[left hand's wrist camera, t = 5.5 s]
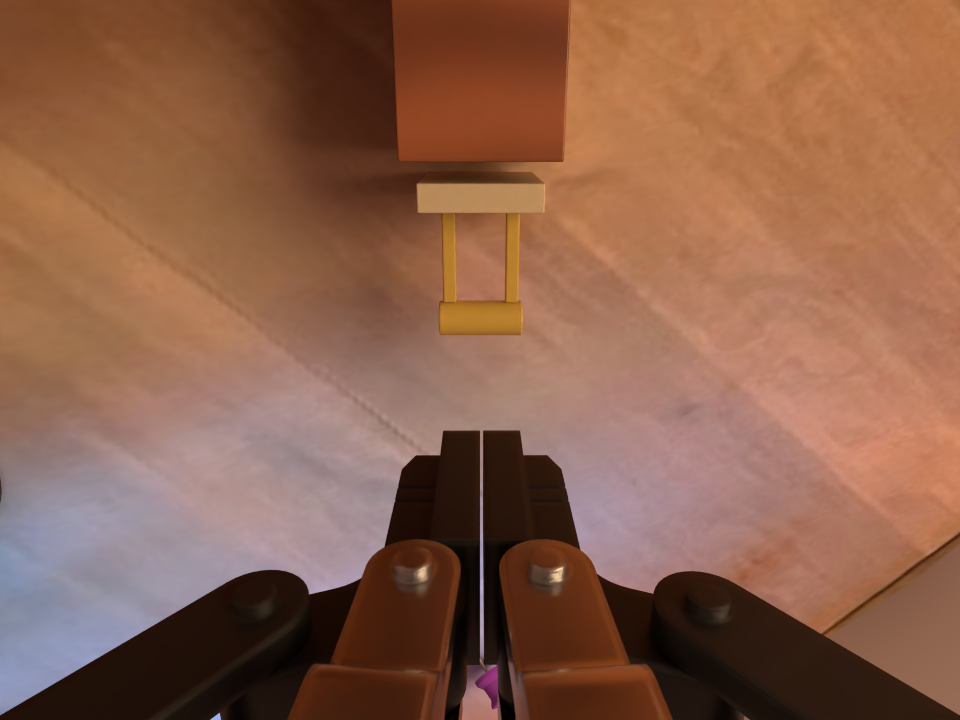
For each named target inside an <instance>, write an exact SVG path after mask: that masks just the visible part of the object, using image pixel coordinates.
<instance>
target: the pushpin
mask: <svg viewBox="0 0 960 720" xmlns="http://www.w3.org/2000/svg"><path fill="white" fill-rule="evenodd" d="M480 663H481V665H482V667H483V669H484V670H485V672H486V673H485V674H484V675H482V676H481V677H480V678H479V679H478V680H477V681H476V682H475V684H476V686H477V687H478V688H481V689H484V690H485V692H486V693H487V695H488V696H489V698H490V699H491V704H492V709H496V708H497V707H498V675H497V666H496V667H494V668H492V669H491V670H489V671H487V669H486V667H485V666H484V664H483V662H482V661H481V659H480Z"/></svg>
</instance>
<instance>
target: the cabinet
mask: <svg viewBox="0 0 960 720" xmlns="http://www.w3.org/2000/svg"><path fill="white" fill-rule="evenodd" d="M570 11H571V0H391V12H392V35H393V59H394V82H395V105H396V128H397V151H398V161H399V162H563V161H564V145H565V123H566V100H567V78H568V56H569V33H570Z"/></svg>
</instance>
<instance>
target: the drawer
mask: <svg viewBox="0 0 960 720" xmlns="http://www.w3.org/2000/svg"><path fill="white" fill-rule="evenodd" d="M416 190H417V212H418V213H442V256H443V301H440V303H439V332H440V335H521V334H522V321H523V312H522V302H521V301H518V277H519V231H520V213H544V208H545V184H544V183H543V182H542V181H541V180H540V179H539V178H538V177H537V176H536V175H535V174H534V173H533V172H429V173H428V174H427V175H425V176H424V177H423V178H422V179H421V180H420V181H419V182H418V183H417V184H416ZM455 213H506V253H505V301H456V299H457V295H456V219H455Z"/></svg>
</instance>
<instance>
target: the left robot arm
mask: <svg viewBox="0 0 960 720" xmlns="http://www.w3.org/2000/svg"><path fill="white" fill-rule="evenodd" d="M1 494H2V491H1V480H0V501H1ZM483 579H484V665H497V675H498V720H744V716H746V717H747V718H748V719H750V720H960V715H958V714H956V713H955V712H953V711H951V710H950V709H948V708H946V707H944V706H943V705H941V704H939V703H938V702H936V701H934V700H933V699H931V698H929V697H927V696H926V695H924V694H922V693H921V692H919V691H917V690H916V689H914V688H912V687H910V686H909V685H907V684H905V683H904V682H902V681H900V680H898V679H897V678H895V677H893V676H892V675H890V674H888V673H887V672H885V671H883V670H881V669H880V668H878V667H876V666H875V665H873V664H871V663H870V662H868V661H866V660H864V659H863V658H861V657H859V656H858V655H856V654H854V653H852V652H851V651H849V650H847V649H846V648H844V647H842V646H841V645H839V644H837V643H835V642H834V641H832V640H830V639H829V638H827V637H825V636H824V635H822V634H820V633H818V632H817V631H815V630H813V629H812V628H810V627H808V626H806V625H805V624H803V623H801V622H800V621H798V620H796V619H795V618H793V617H791V616H789V615H788V614H786V613H784V612H783V611H781V610H779V609H777V608H776V607H774V606H772V605H771V604H769V603H767V602H766V601H764V600H762V599H760V598H759V597H757V596H755V595H754V594H752V593H750V592H749V591H747V590H745V589H743V588H742V587H740V586H738V585H737V584H735V583H733V582H731V581H729V580H727V579H725V578H722V577H720V576H716V575H713V574H709V573H704V572H695V571H687V572H679V573H674V574H671V575H669V576H667V577H665V578H663V579H662V580H661V581H660V582H659V583H658V584H657V586H656V588H655V590H654V594H652V593H647V592H643V591H639V590H634V589H630V588H626V587H623V586H620V585H617V584H614V583H612V582H610V581H608V580H606V579H604V578H602V577H601V576H599V575H598V574H597V573H596V570H595V568H594V565H593V563H592V561H591V560H590V559H589V557H588V556H587V555H586V554H585V553H583V552H582V551H581V550H580V546H579V542H578V538H577V534H576V529H575V525H574V521H573V517H572V512H571V508H570V504H569V502H568V495H567V491H566V488H565V483H564V478H563V474H562V470H561V468H560V467H559V466H558V465H557V464H556V463H555V462H553V461H552V460H551V459H550V458H549V457H548V456H547V455H523V450H522V443H521V435H520V431H483ZM467 665H480V431H443V437H442V445H441V454H440V455H416V456H415V457H414V458H413V459H412V460H411V461H410V462H409V463H408V464H407V465H406V466H405V467H404V468H403V469H402V472H401V476H400V480H399V485H398V489H397V494H396V498H395V503H394V507H393V512H392V516H391V520H390V525H389V529H388V534H387V538H386V543H385V547H384V548H382V549H381V550H379V551H378V552H377V553H375V554H374V555H373V556H372V557H371V559H370V560H369V561H368V563H367V565H366V568H365V570H364V573H363V576H362V578H361V579H359V580H357V581H355V582H353V583H351V584H348V585H346V586H342V587H339V588H335V589H331V590H327V591H323V592H318V593H314V594H310V595H309V591H308V588H307V585H306V584H305V583H304V581H303V580H302V579H301V578H299V577H298V576H296V575H294V574H292V573H289V572H286V571H280V570H262V571H256V572H252V573H248V574H245V575H242V576H239V577H237V578H235V579H233V580H231V581H229V582H227V583H225V584H223V585H222V586H220V587H218V588H217V589H215V590H213V591H211V592H210V593H208V594H206V595H205V596H203V597H201V598H200V599H198V600H196V601H194V602H193V603H191V604H189V605H188V606H186V607H184V608H183V609H181V610H179V611H177V612H176V613H174V614H172V615H171V616H169V617H167V618H165V619H164V620H162V621H160V622H159V623H157V624H155V625H154V626H152V627H150V628H148V629H147V630H145V631H143V632H142V633H140V634H138V635H137V636H135V637H133V638H131V639H130V640H128V641H126V642H125V643H123V644H121V645H119V646H118V647H116V648H114V649H113V650H111V651H109V652H108V653H106V654H104V655H102V656H101V657H99V658H97V659H96V660H94V661H92V662H90V663H89V664H87V665H85V666H84V667H82V668H80V669H79V670H77V671H75V672H73V673H72V674H70V675H68V676H67V677H65V678H63V679H62V680H60V681H58V682H56V683H55V684H53V685H51V686H50V687H48V688H46V689H44V690H43V691H41V692H39V693H38V694H36V695H34V696H33V697H31V698H29V699H27V700H26V701H24V702H22V703H21V704H19V705H17V706H16V707H14V708H12V709H10V710H9V711H7V712H5V713H4V714H2V715H0V720H210V719H212V718H213V717H214V716H216V715H217V714H218V713H220V716H221V720H462V698H463V696H464V694H465V691H466V684H467Z"/></svg>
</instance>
